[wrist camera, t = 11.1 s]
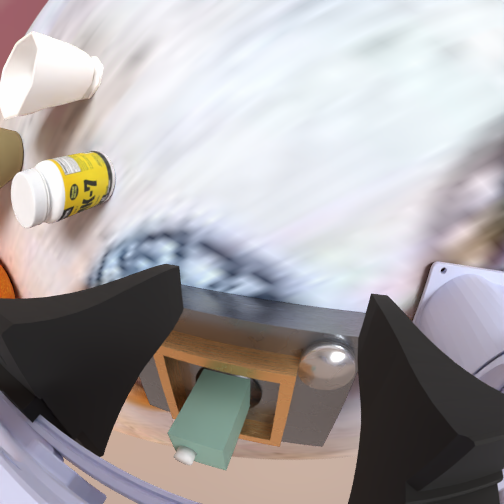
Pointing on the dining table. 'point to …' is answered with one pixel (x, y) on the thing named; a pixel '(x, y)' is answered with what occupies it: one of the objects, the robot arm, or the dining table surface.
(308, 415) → the grey framed base plate
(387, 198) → the dining table surface
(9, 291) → the decorative sphere
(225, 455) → the spout tin
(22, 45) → the cup
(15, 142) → the squeeze bottle
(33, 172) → the supplement bottle
